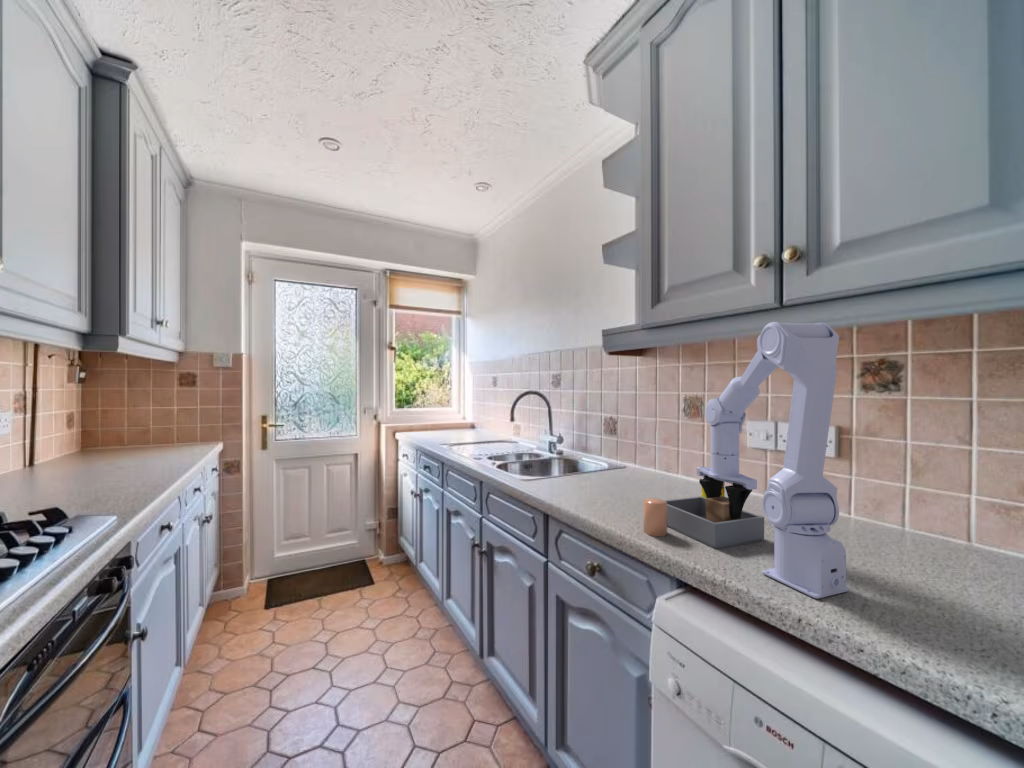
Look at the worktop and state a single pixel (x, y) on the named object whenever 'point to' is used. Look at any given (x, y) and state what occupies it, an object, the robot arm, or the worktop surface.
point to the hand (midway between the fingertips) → (724, 514)
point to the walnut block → (718, 509)
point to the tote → (712, 524)
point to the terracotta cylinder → (655, 517)
